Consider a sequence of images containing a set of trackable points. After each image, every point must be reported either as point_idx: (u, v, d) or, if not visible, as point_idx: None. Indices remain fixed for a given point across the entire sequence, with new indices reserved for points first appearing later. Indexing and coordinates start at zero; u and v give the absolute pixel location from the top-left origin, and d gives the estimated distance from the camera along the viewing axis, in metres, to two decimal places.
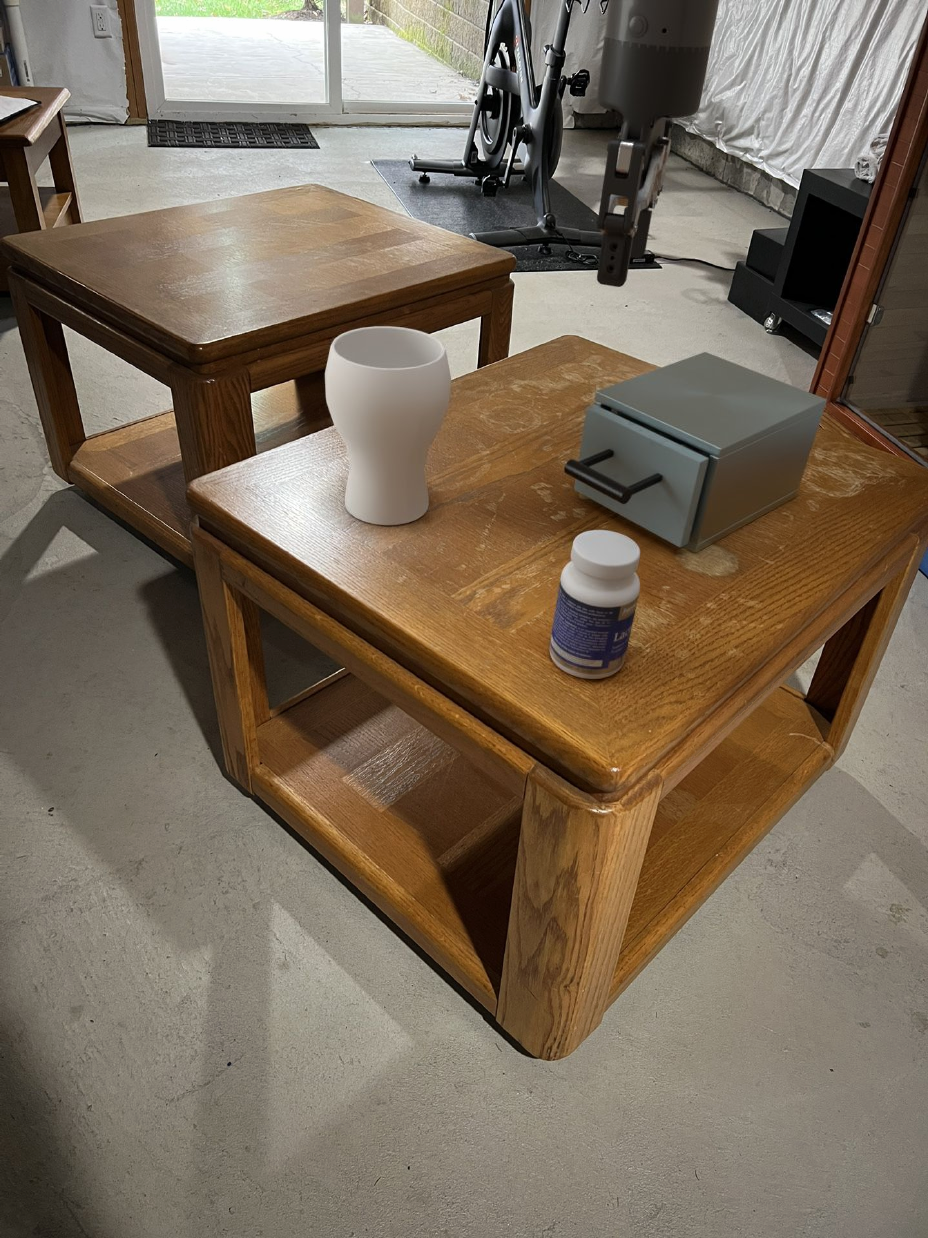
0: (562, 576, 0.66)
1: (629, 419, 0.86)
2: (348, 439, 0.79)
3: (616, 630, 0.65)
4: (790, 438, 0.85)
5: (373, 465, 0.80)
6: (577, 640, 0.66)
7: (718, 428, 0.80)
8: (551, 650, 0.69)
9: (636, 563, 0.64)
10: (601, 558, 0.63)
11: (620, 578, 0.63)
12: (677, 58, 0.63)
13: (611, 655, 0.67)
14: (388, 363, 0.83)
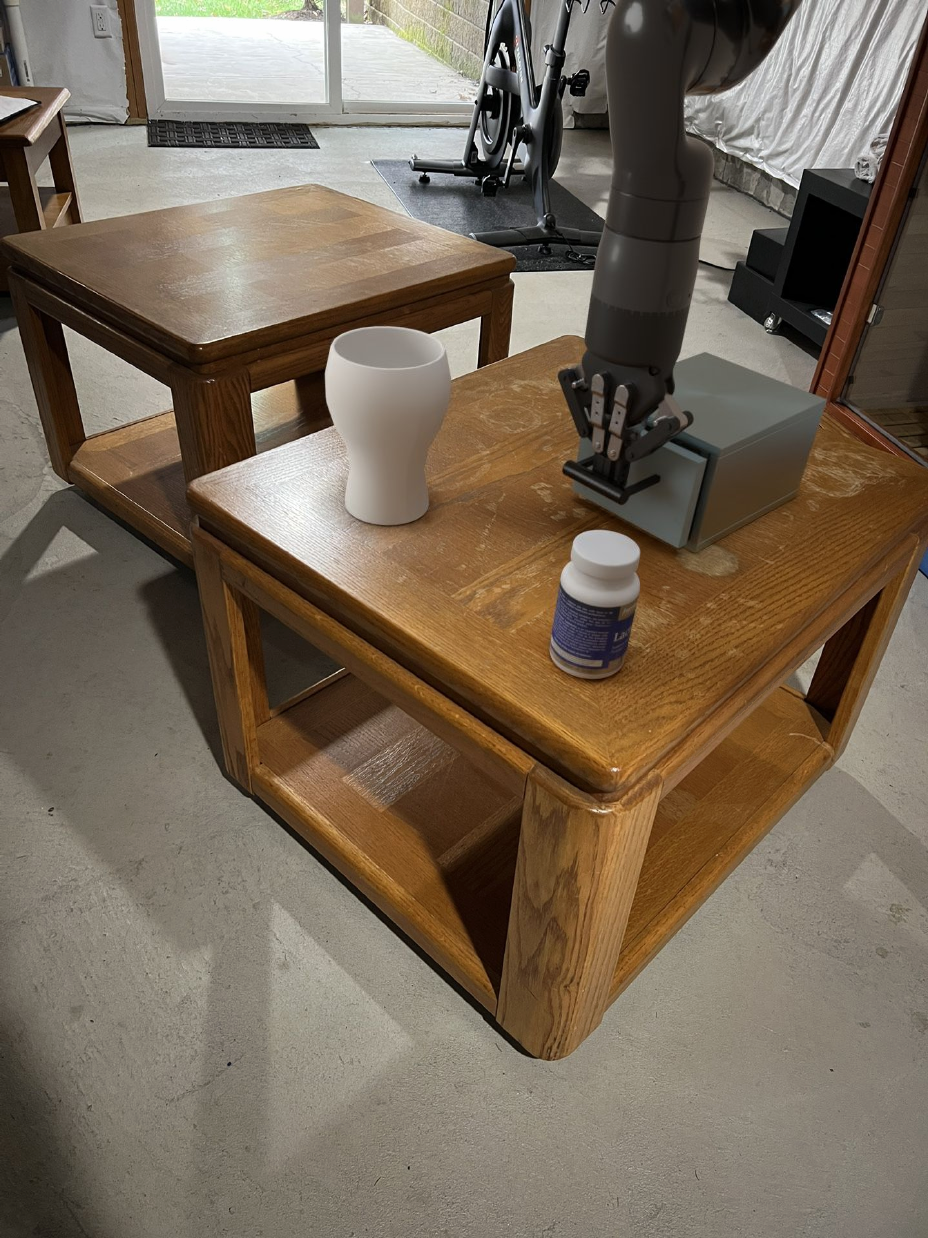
0: (562, 576, 0.66)
1: None
2: (348, 439, 0.79)
3: (616, 630, 0.65)
4: (790, 438, 0.85)
5: (373, 465, 0.80)
6: (577, 640, 0.66)
7: (718, 428, 0.80)
8: (551, 650, 0.69)
9: (636, 563, 0.64)
10: (601, 558, 0.63)
11: (620, 578, 0.63)
12: (688, 311, 0.70)
13: (611, 655, 0.67)
14: (388, 363, 0.83)
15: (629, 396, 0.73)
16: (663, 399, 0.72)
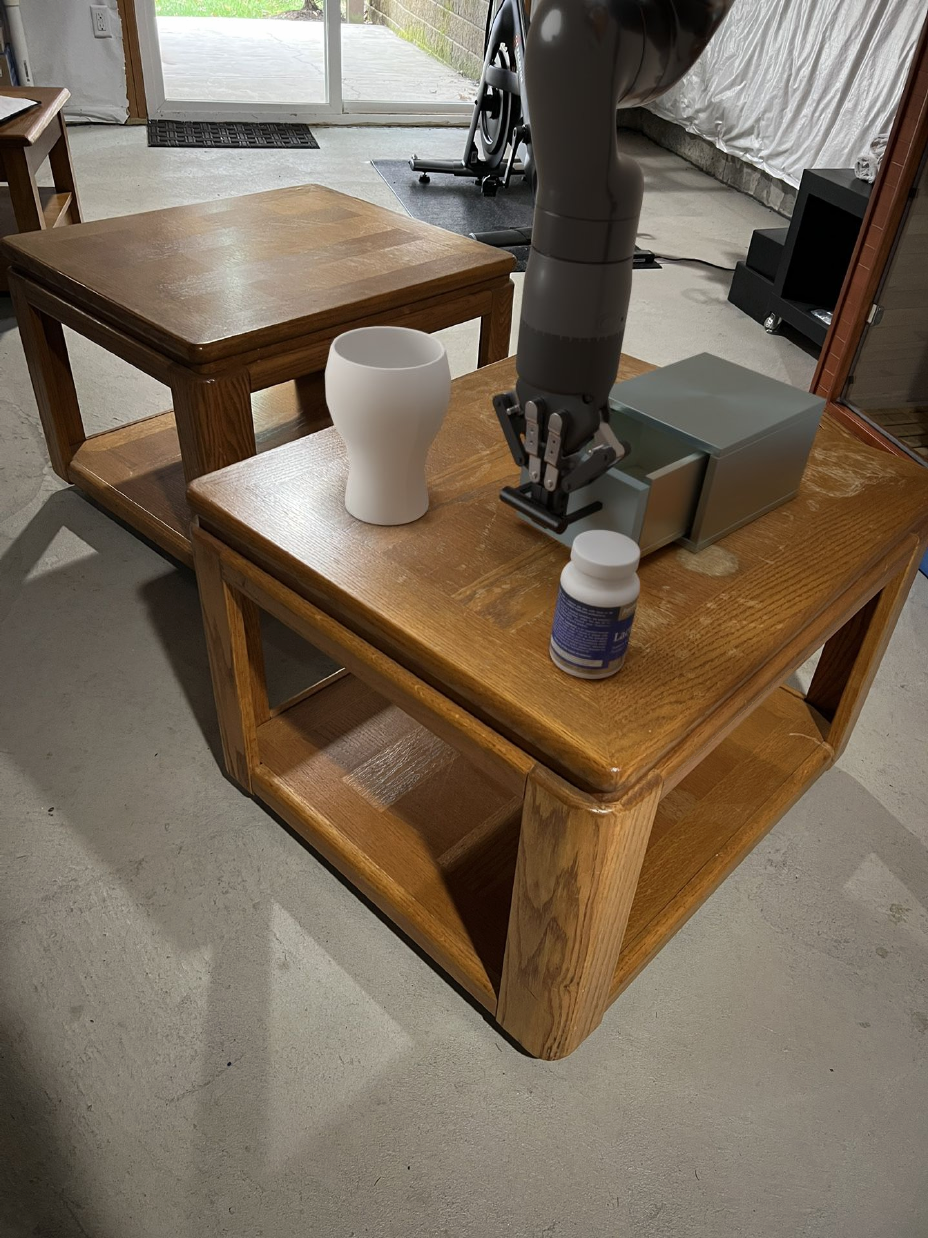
0: (562, 576, 0.66)
1: None
2: (348, 439, 0.79)
3: (616, 630, 0.65)
4: (790, 438, 0.85)
5: (373, 465, 0.80)
6: (577, 640, 0.66)
7: (718, 428, 0.80)
8: (551, 650, 0.69)
9: (636, 563, 0.64)
10: (601, 558, 0.63)
11: (620, 578, 0.63)
12: (623, 335, 0.66)
13: (611, 655, 0.67)
14: (388, 363, 0.83)
15: (563, 425, 0.69)
16: (598, 428, 0.68)
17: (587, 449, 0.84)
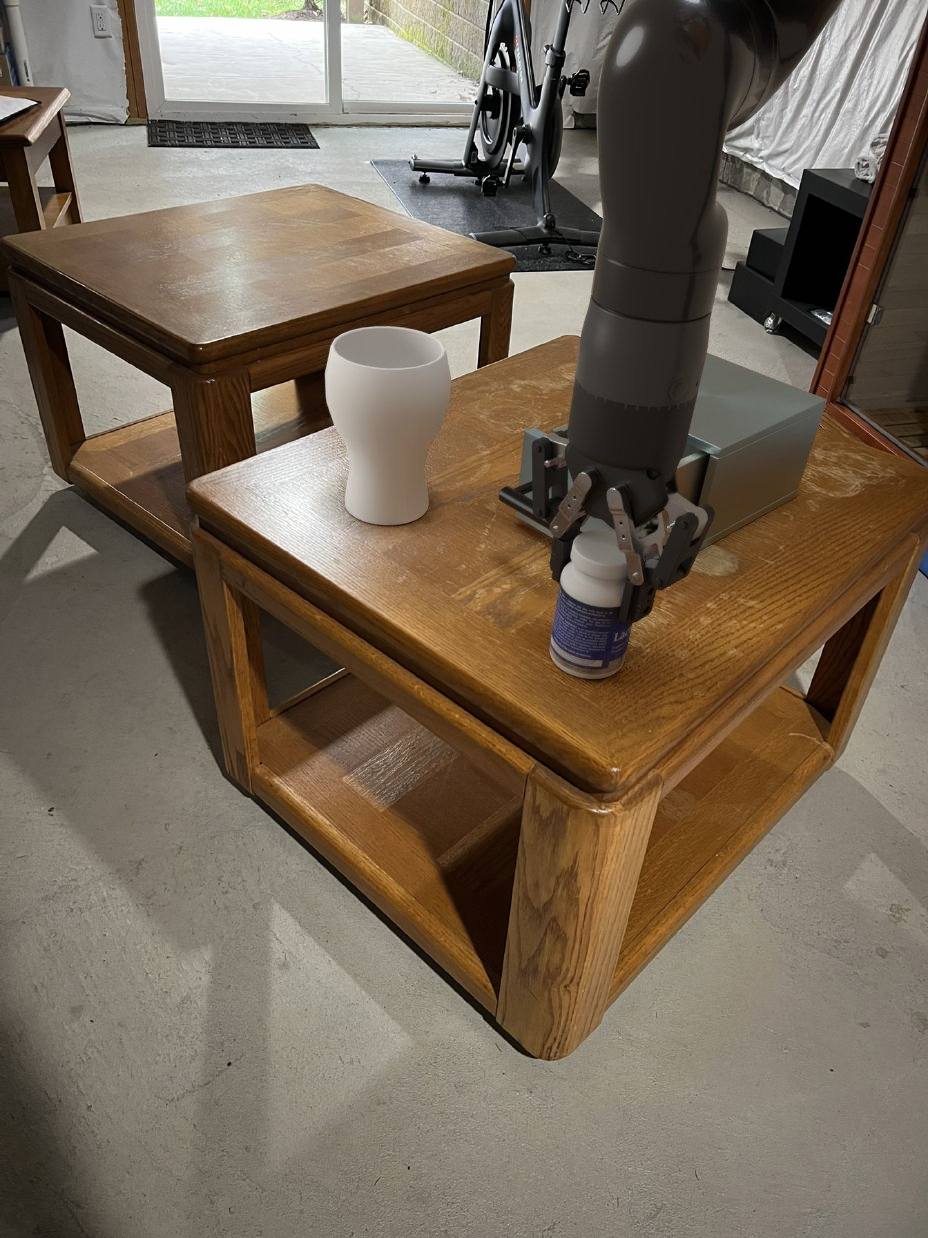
0: (562, 576, 0.66)
1: None
2: (348, 439, 0.79)
3: (616, 630, 0.65)
4: (790, 438, 0.85)
5: (373, 465, 0.80)
6: (577, 640, 0.66)
7: (718, 428, 0.80)
8: (551, 650, 0.69)
9: None
10: (601, 558, 0.63)
11: (620, 578, 0.63)
12: (695, 401, 0.57)
13: (611, 655, 0.67)
14: (388, 363, 0.83)
15: None
16: (664, 506, 0.58)
17: None
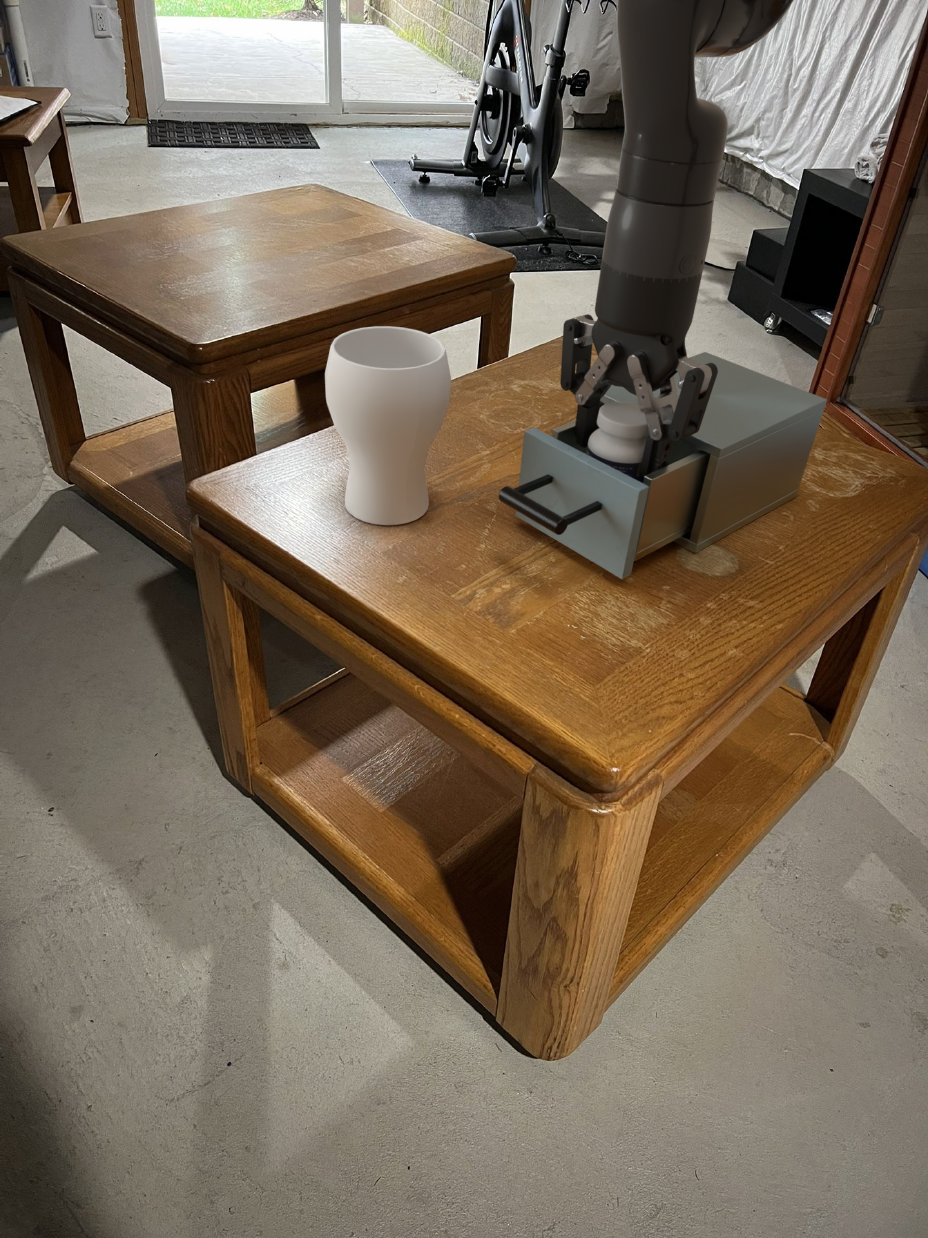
0: (589, 440, 0.78)
1: (572, 442, 0.82)
2: (348, 439, 0.79)
3: None
4: (790, 438, 0.85)
5: (373, 465, 0.80)
6: None
7: (718, 428, 0.80)
8: None
9: None
10: (623, 420, 0.76)
11: (638, 438, 0.76)
12: (700, 279, 0.69)
13: None
14: (388, 363, 0.83)
15: None
16: (675, 368, 0.71)
17: (586, 449, 0.84)
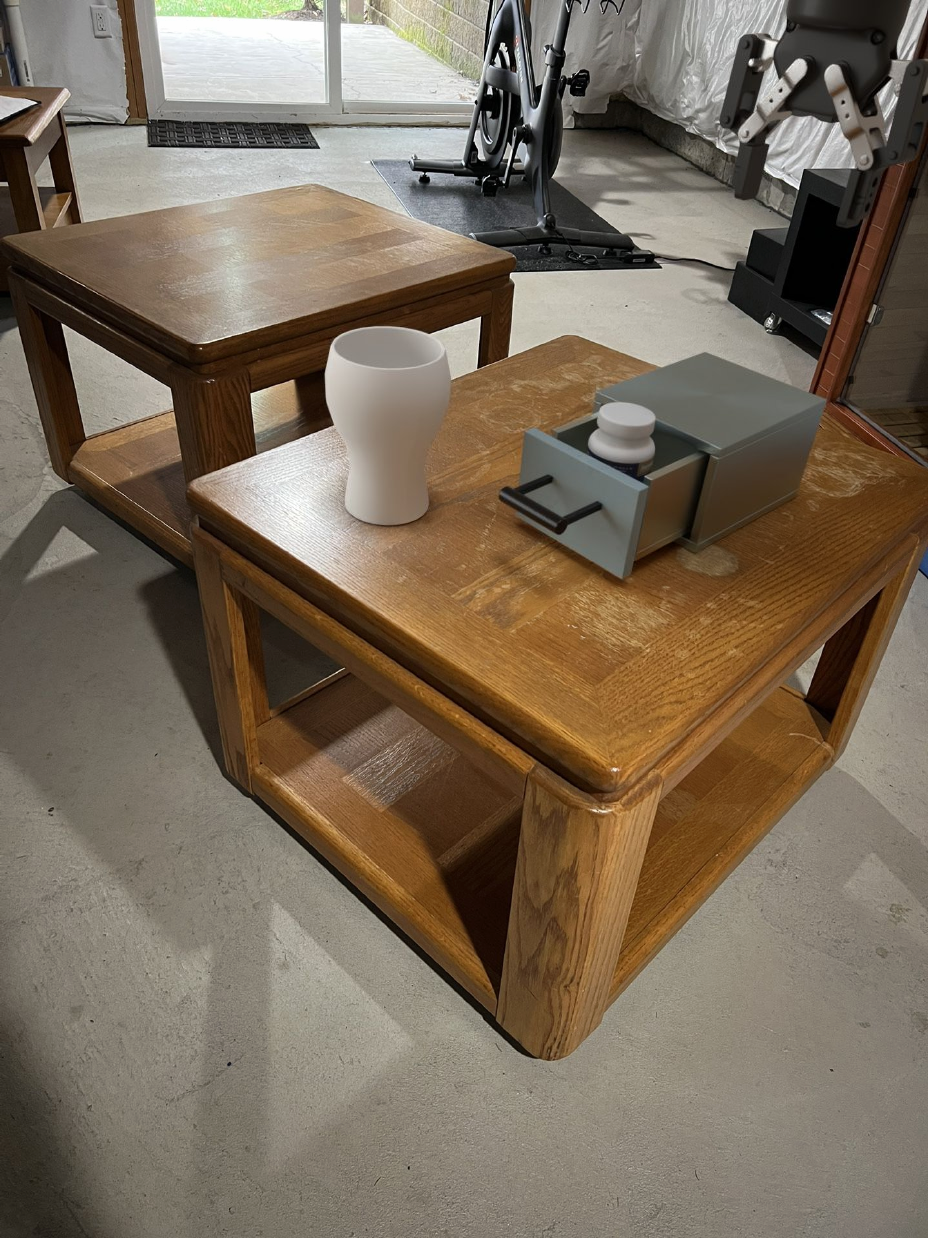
0: (589, 440, 0.78)
1: (572, 442, 0.82)
2: (348, 439, 0.79)
3: None
4: (790, 438, 0.85)
5: (373, 465, 0.80)
6: None
7: (718, 428, 0.80)
8: None
9: (652, 426, 0.76)
10: (623, 420, 0.76)
11: (639, 438, 0.76)
12: None
13: None
14: (388, 363, 0.83)
15: None
16: (885, 77, 0.60)
17: (586, 449, 0.84)
